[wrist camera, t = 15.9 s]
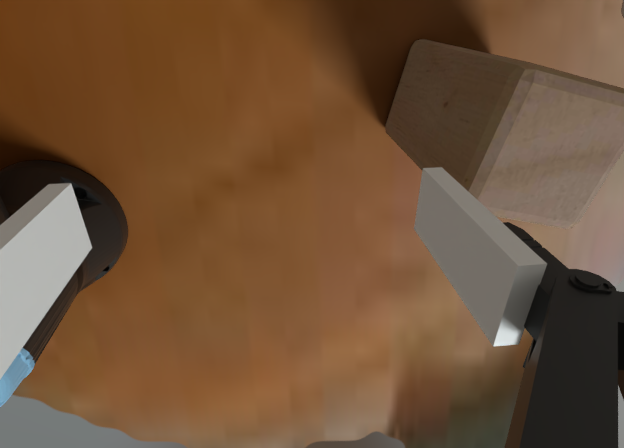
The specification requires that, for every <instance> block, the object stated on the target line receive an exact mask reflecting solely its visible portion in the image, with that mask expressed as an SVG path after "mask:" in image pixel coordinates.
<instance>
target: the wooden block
mask: <svg viewBox="0 0 624 448" xmlns="http://www.w3.org/2000/svg"><path fill="white" fill-rule="evenodd" d="M385 126H386V133H387V134H388V135H389V136H390V137H391V138H392V139H393V140H394V141H395V142H396V143H397V145H398V146H399V147H400V148H401V149H402V150H403V151H404V152H405V153H406V154H407V155H408V156H409V157H410V158H411V159H412V160H413V161H414V162H415V163H416V164H417V165H418V167H419V168H420V169H421V170H422V171H423V168H436V167H442V168H443V169H444V170H445V171H446V172H447V173H449V174H450V175H451V176H452V177H453V178H454V179H455V180H456V181H457V182H458V183H459V184H461V185H462V186H463V187H464V188H465V189H466V190H467V191H468V192H469V193H470V194H471V195H473V196H474V197H475V198H476V199H477V200H478V201H479V202H480V203H481V204H482V205H484V206H485V207H486V208H487V209H488V210H489V211H490V212H491V213H492V214H493V215H494V216H496V217H501V218H507V219H512V220H518V221H524V222H529V223H535V224H540V225H546V226H551V227H557V228H563V229H568V228H572V227H574V226H575V225H576V224H577V223H579V221H580V220H581V218H582V217H583V215H584V213H585V212H586V210H587V209H588V207H589V205H590V204H591V202H592V201H593V199H594V197H595V196H596V194H597V193H598V191H599V189H600V188H601V186H602V185H603V183H604V181H605V180H606V178H607V177H608V175H609V173H610V172H611V170H612V169H613V167H614V165H615V164H616V162H617V161H618V159H619V157H620V156H621V154H622V153H623V151H624V88H620V87H616V86H613V85H609V84H606V83H602V82H598V81H595V80H591V79H588V78H584V77H580V76H577V75H573V74H570V73H566V72H562V71H559V70H555V69H552V68H548V67H544V66H541V65H537V64H534V63H530V62H525V61H521V60H516V59H512V58H507V57H503V56H498V55H494V54H489V53H485V52H480V51H476V50H471V49H467V48H462V47H457V46H453V45H448V44H444V43H439V42H435V41H430V40H426V39H421V40H416V41H415V42H414V44H413V45H412V46H411V49H410V52H409V55H408V58H407V61H406V64H405V67H404V70H403V73H402V76H401V79H400V82H399V85H398V88H397V92H396V95H395V98H394V101H393V104H392V107H391V110H390V113H389V116H388V119H387V122H386V125H385Z"/></svg>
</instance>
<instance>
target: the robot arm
mask: <svg viewBox="0 0 624 448" xmlns="http://www.w3.org/2000/svg"><path fill="white" fill-rule="evenodd" d="M414 229H415V231H416V232H417V234H418V235H419V237H420V238H421V240H422V241H423V243H424V244H425V246H426V247H427V249H428V250H429V252H430V253H431V255H432V256H433V258H434V259H435V261H436V262H437V264H438V265H439V267H440V268H441V270H442V271H443V273H444V274H445V276H446V277H447V279H448V280H449V281H450V283H451V284H452V286H453V287H454V289H455V290H456V292H457V293H458V295H459V296H460V298H461V299H462V301H463V302H464V304H465V305H466V307H467V308H468V310H469V311H470V313H471V314H472V316H473V317H474V319H475V320H476V322H477V323H478V325H479V326H480V328H481V329H482V331H483V332H484V334H485V335H486V337H487V338H488V340H489V341H490V342H491V344H492V345H493V346H504V345H515V344H519V343H520V340H521V337H522V334H523V331H524V328H526V330H527V331H528V332H529V333H530V335H531V336H532V337H533V341H532V343H531V346H530V349H529V351H528V354H527V357H526V359H525V362H524V365H523V367H524V368H525V369H524V373H523V377H522V381H521V385H520V389H519V393H518V397H517V401H516V405H515V409H514V413H513V417H512V421H511V425H510V429H509V433H508V437H507V441H506V445H505V448H618V385H619V388H620V391H621V394H622V396H623V399H624V292H619V291H616V288H615V287H614V286H613V285H612V284H611V283H610V282H609V281H607V280H606V279H604V278H602V277H601V276H599V275H596V274H593V273H591V272H588V271H583V270H578V269H568V268H567V267H566V266H565V265H563V264H562V263H561V262H560V261H559V260H558V259H557V258H555V257H554V256H553V255H552V254H551V253H550V252H548V251H547V250H546V249H545V248H542V245H540V244H539V243H538V242H537V241H536V240H534V239H533V238H532V237H531V236H530V235H529V234H528V233H527V232H525V231H524V230H523V229H521V228H519V227H517V226H515V225H513V224H511V223H509V222H506V223H502V222H501V221H500V220H499V219H498V218H497V217H496V216H494V215H493V214H492V213H491V212H490V211H489V210H488V209H487V208H486V207H485V206H484V205H482V204H481V203H480V202H479V201H478V200H477V199H476V198H475V197H474V196H473V195H471V194H470V193H469V192H468V191H467V190H466V189H465V188H464V187H463V186H462V185H461V184H459V183H458V182H457V181H456V180H455V179H454V178H453V177H452V176H451V175H450V174H449V173H447V172H446V171H445V170H444V169H443V168H442V167H436V168H423V171H422V178H421V185H420V192H419V199H418V206H417V213H416V220H415V227H414ZM127 237H128V226H127V221H126V217H125V214H124V212H123V210H122V207H121V206H120V204H119V202H118V201H117V199H116V198H115V197H114V195H113V194H112V193H111V192H110V191H109V190H108V189H107V188H106V187H105V186H104V185H103V184H102V183H100V182H99V181H98V180H96V179H95V178H94V177H92V176H90V175H89V174H87V173H85V172H83V171H81V170H79V169H77V168H75V167H72V166H69V165H66V164H62V163H58V162H53V161H45V160H31V161H23V162H19V163H16V164H13V165H10V166H8V167H6V168H4V169H2V170H1V171H0V407H1V406H2V405H3V404H4V403H6V401H7V400H8V399H9V398H10V396H11V395H12V394H13V392H14V391H15V390H16V388H17V387H18V385H19V384H20V383H21V381H22V380H23V379H24V378H25V377H27V376H28V374H29V373H31V371H32V370H33V368H34V365H35V363H36V361H37V360H38V358H39V356H40V355H41V353H42V351H43V350H44V348H45V346H46V345H47V343H48V342H49V340H50V338H51V337H52V335H53V333H54V332H55V330H56V328H57V327H58V325H59V323H60V322H61V320H62V318H63V317H64V315H65V313H66V312H67V310H68V309H69V307H70V305H71V304H72V302H73V300H74V298H75V297H76V295H77V294H78V293H79V292H80V291H82V290H83V289H85V288H86V287H88V286H89V285H91V284H92V283H93V282H95V281H96V280H98V279H100V278H101V277H102V276H104V275H105V274H107V273H108V272H109V271H110V270H111V269H112V268H113V266H114V265H115V264H116V263H117V261H118V259H119V257H120V256H121V254H122V252H123V250H124V248H125V246H126V242H127Z"/></svg>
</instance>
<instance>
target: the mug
mask: <svg viewBox="0 0 624 448" xmlns="http://www.w3.org/2000/svg"><path fill="white" fill-rule="evenodd" d="M621 13H622V16H623V18H624V0H623V3H622V8H621Z"/></svg>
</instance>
